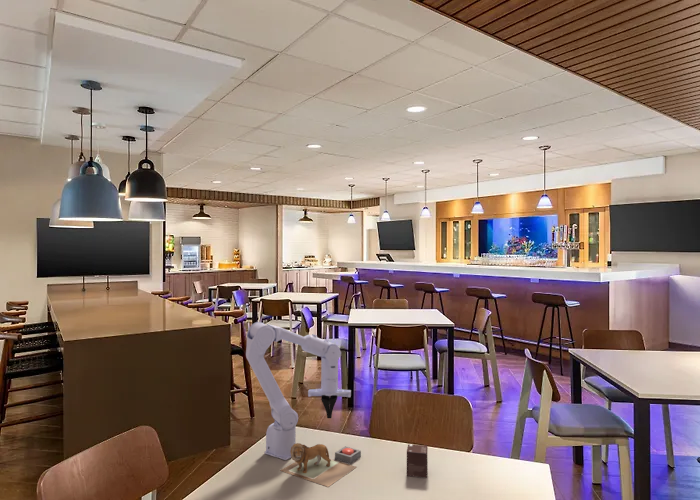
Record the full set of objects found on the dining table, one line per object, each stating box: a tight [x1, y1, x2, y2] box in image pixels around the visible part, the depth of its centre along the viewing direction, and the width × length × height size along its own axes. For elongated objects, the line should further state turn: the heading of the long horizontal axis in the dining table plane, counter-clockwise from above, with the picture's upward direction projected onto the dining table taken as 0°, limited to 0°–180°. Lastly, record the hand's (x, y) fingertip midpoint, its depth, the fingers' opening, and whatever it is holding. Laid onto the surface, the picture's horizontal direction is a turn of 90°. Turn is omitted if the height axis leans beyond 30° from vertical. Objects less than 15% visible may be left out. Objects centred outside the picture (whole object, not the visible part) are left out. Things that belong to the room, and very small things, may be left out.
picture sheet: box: [279, 456, 357, 488], centre depth 146 cm, size 18×15×1 cm
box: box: [406, 443, 429, 479], centre depth 144 cm, size 6×6×7 cm
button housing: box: [334, 446, 362, 464], centre depth 154 cm, size 6×6×2 cm
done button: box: [342, 447, 354, 455], centre depth 154 cm, size 4×4×2 cm
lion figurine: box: [290, 442, 331, 473], centre depth 146 cm, size 15×5×9 cm, turn 131°
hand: (329, 417), depth 164 cm, fingers closed
